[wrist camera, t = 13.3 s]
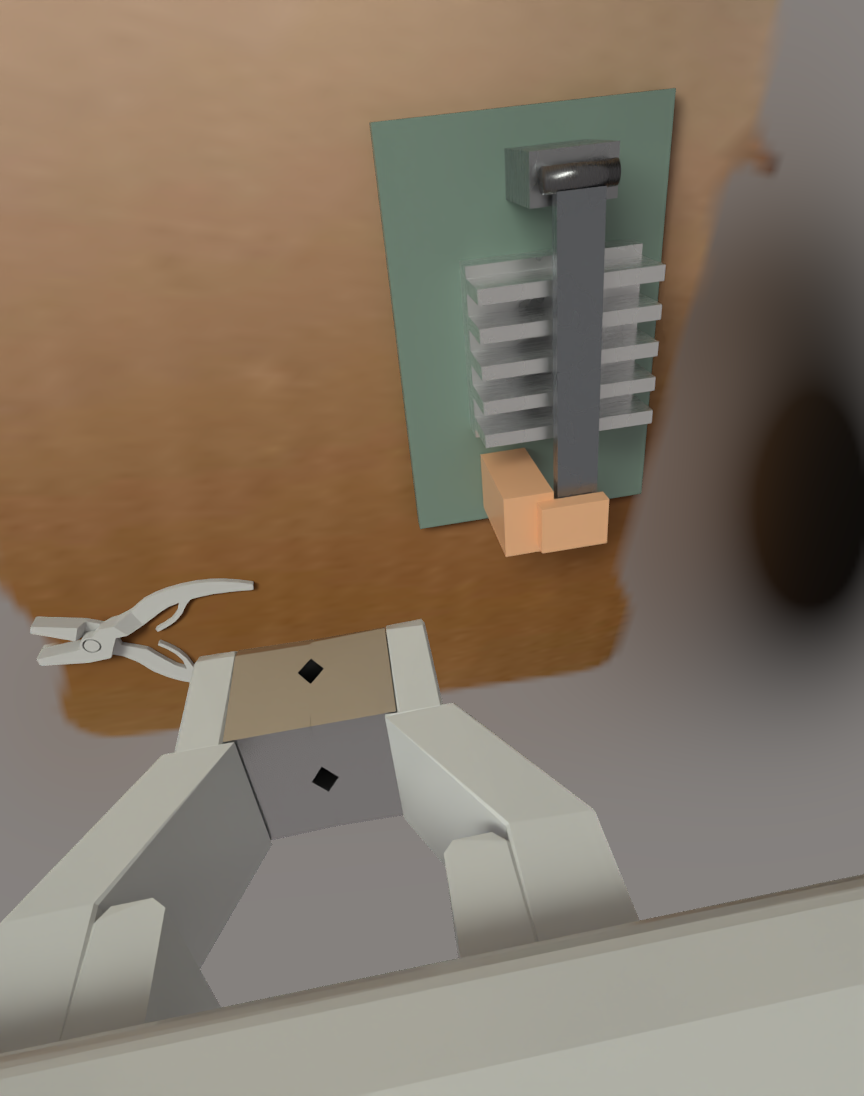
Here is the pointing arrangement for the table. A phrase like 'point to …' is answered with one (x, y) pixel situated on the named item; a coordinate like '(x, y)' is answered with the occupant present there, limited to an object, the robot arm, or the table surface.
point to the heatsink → (551, 318)
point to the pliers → (128, 630)
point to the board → (486, 231)
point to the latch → (537, 508)
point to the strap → (577, 315)
